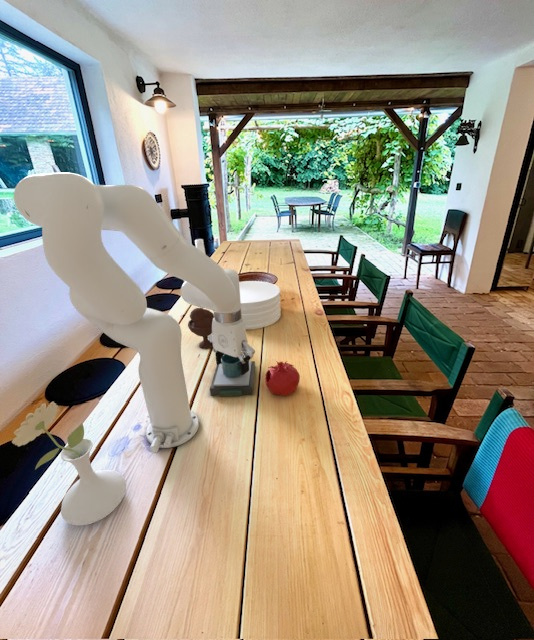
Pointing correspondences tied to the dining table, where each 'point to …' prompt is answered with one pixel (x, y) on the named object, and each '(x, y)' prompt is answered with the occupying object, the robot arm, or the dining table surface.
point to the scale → (233, 382)
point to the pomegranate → (282, 379)
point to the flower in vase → (93, 486)
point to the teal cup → (230, 365)
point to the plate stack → (259, 303)
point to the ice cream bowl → (201, 325)
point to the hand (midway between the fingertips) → (232, 367)
